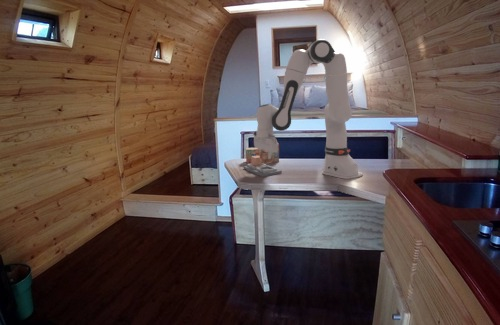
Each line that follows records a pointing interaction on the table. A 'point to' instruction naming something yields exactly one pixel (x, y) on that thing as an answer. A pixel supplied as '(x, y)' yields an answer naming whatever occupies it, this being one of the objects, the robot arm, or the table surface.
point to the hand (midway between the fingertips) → (265, 157)
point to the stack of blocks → (256, 152)
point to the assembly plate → (261, 167)
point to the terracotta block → (265, 157)
